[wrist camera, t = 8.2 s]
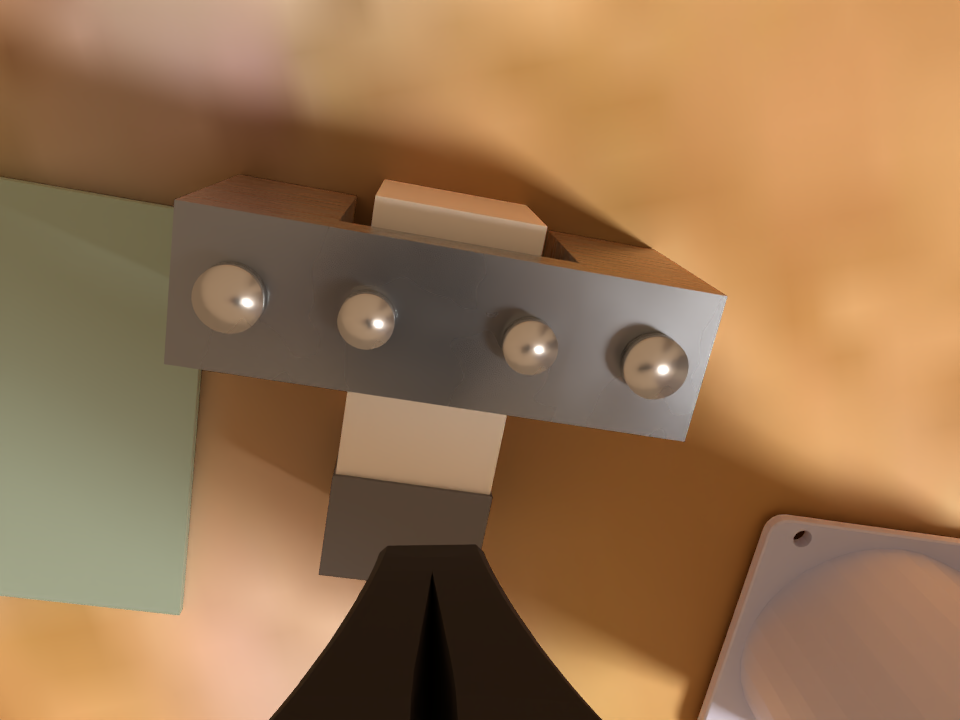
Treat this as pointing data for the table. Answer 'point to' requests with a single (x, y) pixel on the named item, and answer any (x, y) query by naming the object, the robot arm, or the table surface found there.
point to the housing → (435, 312)
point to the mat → (91, 403)
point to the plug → (420, 415)
